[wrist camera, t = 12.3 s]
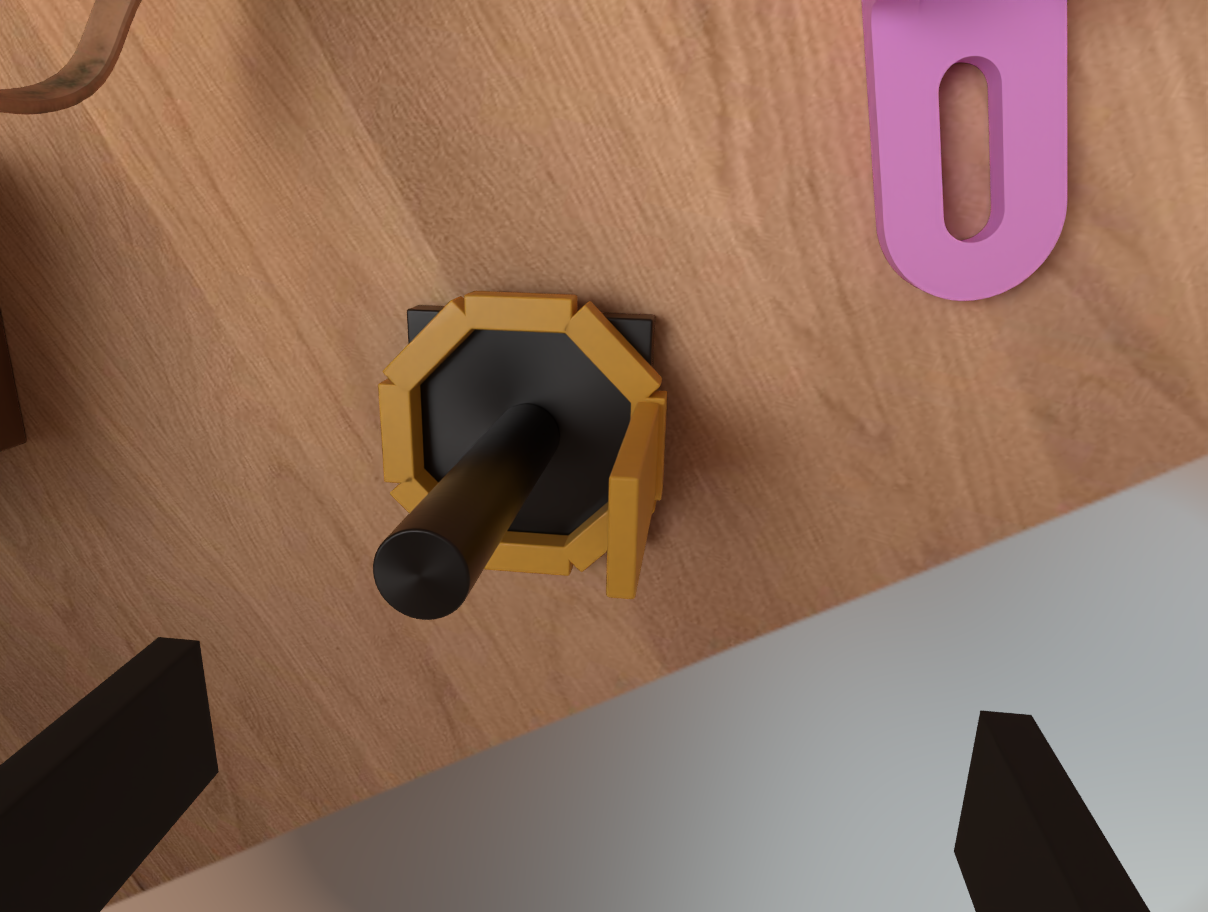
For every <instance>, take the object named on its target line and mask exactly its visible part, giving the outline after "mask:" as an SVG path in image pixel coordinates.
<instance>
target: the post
mask: <svg viewBox="0 0 1208 912" xmlns="http://www.w3.org/2000/svg"><path fill="white" fill-rule="evenodd" d="M444 307H445V306H426V305H418V306H415V307H413V308H410V309H408V310H407V322H408V341H409V343H410V342H411V341H412V340H413V339H414V338H415V337H416V336H417V335H418V334H419V333H420V332H421V331H422V330H423V329H424V328H425V326H426V325H427V324H428V323H429V322H430V321H431V320H432V319H433V318H434V317H435V316H436V315H437V314H438V313H439V312H440V311H441V310H442V309H443V308H444ZM602 314H603V315H604V316H605V317H606V318H607V319H608V320H609V321H610V323H611V324H612V325H613V326H614V327H615V328H616V329H617V330H618V331H619V332H620V333H621V334H622V335H623V337H624V338H625V339H626V340H627V341H628V342H629V343H630V344H631V345H632V346H633V347H634V348H635V349H636V350H637V352H638V353H639V354H640V355H641V356H642V357H643V358H644V359H645V360H646V361H647V362H648V363H649V364H650V366H651V367H652V368H653V355H654V330H655V316H654V315H650V314H625V313H602ZM420 392H421V413H422V434H423V455H424V469H425V470H426V471H427V472H428V473H429V474H430V475H431V476H432V477H433V478H434V479H435V480H436V481H437V482H438V484H437V485H436V486H435V487H434V488H433V489H432V490H431V491H430V492H429V493H428V494H427V496H426V497H425V498H424V499H423V500H422V501H421V502H420V503H419V504H418V505H417V506H416V507H415V508H414V509H413V510H412V511H411V512H410V514H409V515H408V516H407V517H406V518H405V519H404V520H403V521H402V522H401V523H400V524H399V525H398V526H397V527H396V528H395V529H394V531H393V532H392V533H391V534H390V535H389V536H388V537H387V538H386V539H385V540H384V541H383V542H382V543H381V545H380V546H379V548H378V550H377V552H376V554H375V557H374V563H373V574H374V579H375V583H376V586H377V588H378V590H379V592H380V593H381V595H382V596H383V598H384V599H385V600H386V601H387V602H388V603H389V604H390V605H391V606H392V607H393V608H394V609H396V610H397V611H399V612H401V613H402V614H404V615H407V616H409V617H412V618H416V619H422V620H431V619H438V618H442V617H445V616H447V615H449V614H451V613H453V612H454V611H455V610H457V609H458V608H459V607H460V606H461V605H462V603H463V602H464V601H465V599H466V597H467V596H468V594H469V592H470V591H471V589H472V587H473V586H474V584H475V583H476V581H477V579H478V578H479V576H480V574H481V573H482V571H483V569H484V568H485V566H486V565H487V563H488V561H489V560H490V558H491V556H492V555H493V553H494V551H495V550H496V548H497V547H498V545H499V543H500V542H501V540H502V538H503V537H504V535H505V533H506V532H507V531H511V532H525V533H539V534H553V535H567V536H569V535H570V534H571V533H572V532H573V531H574V530H576V529H577V528H578V527H579V526H580V525H581V524H583V523H584V522H585V521H586V520H587V519H588V518H590V517H591V516H592V515H593V514H594V513H596V512H597V511H598V510H599V509H600V508H601V507H603V506H604V505H605V504H606V503H607V502H608V495H609V477H610V474H611V472H612V469H613V466H614V464H615V461H616V458H617V455H618V453H619V450H620V447H621V445H622V442H623V439H624V437H625V434H626V431H627V428H628V426H629V423H630V419H631V403H630V401H629V400H628V399H627V398H626V397H625V396H624V395H623V394H622V393H621V392H620V391H619V390H618V389H617V388H616V387H615V386H614V384H613V383H612V382H611V381H610V380H609V379H608V378H607V377H606V376H605V375H604V374H603V373H602V372H601V371H600V370H599V369H598V368H597V366H596V365H595V364H594V363H593V362H592V361H591V360H590V359H589V358H588V357H587V356H586V355H585V354H584V353H583V352H582V351H581V349H580V348H579V347H578V346H577V345H576V344H575V343H574V342H573V341H572V340H571V339H570V338H569V337H568V336H567V335H566V334H565V333H547V332H523V331H500V330H477V329H475V330H474V331H473V332H472V333H471V334H470V335H469V336H468V337H467V338H466V339H465V340H464V341H463V342H462V343H461V344H460V345H459V346H458V347H457V348H456V349H455V350H454V351H453V352H452V353H451V354H450V355H449V356H448V357H447V358H446V359H445V360H444V361H443V362H442V363H441V364H440V365H439V366H438V367H437V368H436V369H435V370H434V371H433V372H432V373H431V374H430V376H429V377H428V378H427V379H426V380H425V381H424V382H423V383H422V384H421V385H420Z"/></svg>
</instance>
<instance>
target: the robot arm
mask: <svg viewBox="0 0 1208 912" xmlns="http://www.w3.org/2000/svg"><path fill="white" fill-rule="evenodd" d="M218 772H219V771H218V764H217V758H216V751H215V744H214V737H213V730H212V724H211V717H210V710H209V703H208V696H207V689H206V683H205V676H204V669H203V662H202V655H201V648H200V642H199V641H196V640H185V639H174V638H162V637H158V638H157V639H156V640H155V641H153V642H152V643H151V644H150V645H148V646H147V647H146V648H145V649H143V650H142V651H141V652H140V653H138V654H137V655H136V656H135V657H133V658H132V659H131V660H130V661H129V662H127V663H126V664H125V665H124V666H122V667H121V668H120V669H119V670H117V671H116V672H115V673H114V674H112V675H111V676H110V677H109V678H108V679H106V680H105V681H104V682H103V683H101V684H100V685H99V686H98V687H96V688H95V689H94V690H93V691H91V692H90V693H89V694H88V695H87V696H85V697H84V698H83V699H82V700H80V701H79V702H78V703H77V704H75V705H74V706H73V707H72V708H70V709H69V710H68V711H67V712H65V713H64V714H63V715H62V716H61V717H59V718H58V719H57V720H56V721H54V722H53V723H52V724H51V725H49V726H48V727H47V728H46V729H44V730H43V731H42V732H41V733H40V734H38V735H37V736H36V737H35V738H33V739H32V740H31V741H30V742H28V743H27V744H26V745H25V746H23V747H22V748H21V749H20V750H18V751H17V752H16V753H15V754H14V755H12V756H11V757H10V758H9V759H7V760H6V761H5V762H4V763H2V764H1V765H0V912H100V911H101V910H102V909H103V908H104V906H105V905H106V904H107V903H108V902H109V900H110V899H111V898H112V897H113V896H114V895H115V893H116V892H117V891H118V890H119V889H120V888H121V886H122V885H123V884H124V883H125V882H126V880H127V879H128V878H129V877H130V876H131V875H132V873H133V872H134V871H135V870H136V869H137V867H138V866H139V865H140V864H141V863H142V862H143V860H144V859H145V858H146V857H147V856H148V855H149V853H150V852H151V851H152V850H153V849H154V847H155V846H156V845H157V844H158V843H159V842H160V840H161V839H162V838H163V837H164V836H165V834H166V833H167V832H168V831H169V830H170V829H171V827H172V826H173V825H174V824H175V823H176V822H177V820H178V819H179V818H180V817H181V816H182V814H183V813H184V812H185V811H186V810H187V809H188V807H189V806H190V805H191V804H192V803H193V801H194V800H195V799H196V798H197V797H198V796H199V794H200V793H201V792H202V791H203V790H204V788H205V787H206V786H207V785H208V784H209V783H210V781H211V780H212V779H213V778H214V777H215V776H216V774H217V773H218ZM954 853H955V856H956V858H957V861H958V864H959V867H960V869H961V872H962V875H963V878H964V880H965V883H966V886H967V889H968V891H969V894H970V897H971V900H972V902H973V905H974V908H975V911H976V912H1150V911H1149V909H1148V907H1147V906H1146V904H1145V902H1144V901H1143V899H1142V897H1141V896H1140V894H1139V892H1138V891H1137V889H1136V888H1135V886H1134V884H1133V882H1132V881H1131V879H1130V878H1129V876H1128V874H1127V873H1126V871H1125V869H1124V868H1123V866H1122V864H1121V863H1120V861H1119V860H1118V858H1117V856H1116V855H1115V853H1114V851H1113V849H1112V848H1111V846H1110V844H1109V843H1108V841H1107V839H1106V838H1105V836H1104V835H1103V833H1102V831H1101V830H1100V828H1099V826H1098V825H1097V823H1096V821H1095V820H1094V818H1093V816H1092V815H1091V813H1090V811H1089V810H1088V808H1087V806H1086V805H1085V803H1084V801H1083V800H1082V798H1081V796H1080V795H1079V793H1078V791H1077V790H1076V788H1075V786H1074V785H1073V783H1072V781H1071V780H1070V778H1069V777H1068V775H1067V773H1066V772H1065V770H1064V768H1063V767H1062V765H1061V763H1060V762H1059V760H1058V758H1057V757H1056V755H1055V753H1054V752H1053V750H1052V748H1051V747H1050V745H1049V743H1048V742H1047V740H1046V738H1045V737H1044V735H1043V733H1042V732H1041V730H1040V729H1039V727H1038V725H1037V724H1036V722H1035V720H1034V719H1033V717H1032V715H1025V714H1014V713H1003V712H991V711H980V716H979V722H978V726H977V731H976V737H975V742H974V747H973V753H972V758H971V764H970V768H969V774H968V780H967V784H966V790H965V795H964V800H963V806H962V811H961V816H960V822H959V827H958V832H957V838H956V843H955V848H954Z"/></svg>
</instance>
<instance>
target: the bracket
mask: <svg viewBox="0 0 1208 912" xmlns="http://www.w3.org/2000/svg"><path fill="white" fill-rule="evenodd" d="M862 14H863V29H864V45H865V60H866V75H867V91H868V106H869V122H870V137H871V153H872V168H873V183H874V199H875V214H876V228H877V235H878V239H879V243H880V246H881V249H882V251H883V253H884V255H885V257H886V259H887V261H888V262H889V264H890V265H891V267H892V268H893V269H894V270H895V271H896V273H898V274H899V275H900V276H901V277H902V278H903V279H904V280H906V281H907V282H908V283H910V284H912V285H913V286H915V287H917V288H919V289H921V290H923V291H925V292H927V293H929V294H932V295H934V296H937V297H941V298H944V299H950V300H958V301H970V300H979V299H984V298H988V297H992V296H995V295H998V294H1001V293H1003V292H1005V291H1007V290H1009V289H1011V288H1013V287H1015V286H1016V285H1018V284H1020V283H1021V282H1022V281H1024V280H1025V279H1027V278H1028V277H1029V276H1030V275H1031V274H1032V273H1034V272H1035V271H1036V270H1037V269H1038V268H1039V266H1040V265H1041V264H1042V263H1043V262H1044V261H1045V259H1046V258H1047V257H1048V256H1049V254H1050V252H1051V251H1052V249H1053V248H1054V246H1055V244H1056V242H1057V240H1058V238H1059V236H1060V233H1061V231H1062V228H1063V224H1064V221H1065V216H1066V210H1067V0H862ZM960 62H964V63H969V64H972V65H974V66H976V67H978V68H979V69H980V70H981V71H982V72H983V74H984V75H985V78H986V80H987V84H988V109H989V147H990V185H991V214H990V218H989V220H988V222H987V224H986V226H985V227H984V228H983V229H982V231H980V232H979V233H978V234H977V235H975V236H974V237H971V238H969V239H966V240H957V239H955V238H954V237H952V236H951V235H950V233H949V232H948V231H947V229H946V227H945V224H944V215H943V191H942V168H941V144H940V120H939V97H938V91H939V85H940V81H941V79H942V77H943V75H944V73H945V72H946V70H947V69H948V68H949V67H950V66H951V65H952V64H954V63H960Z"/></svg>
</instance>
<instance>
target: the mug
mask: <svg viewBox="0 0 1208 912" xmlns="http://www.w3.org/2000/svg"><path fill="white" fill-rule="evenodd" d="M141 1H142V0H96V1H95V3H94V6H93V8H92V11H91V13H90V16H89V19H88V22H87V25H86V27H85V30H84V33H83V35H82V38H81V40H80V43H79V45H78V47H77V49H76V51H75V53H74V55H73V56H72V58H71V59H70V61H69V62H68V64H67V65H66V66H64V67H63V68H62V69H61V70H60V71H59V72H58V73H57V74H55V75H53V76H52V77H50V78H48V79H46V80H45V81H43V82H40V83H37V84H34V85H30V86H26V87H21V88H13V89H2V90H0V112H3V113H13V114H41V113H48V112H54V111H58V110H62V109H66V108H69V107H71V106H74V105H76V104H78V103H80V102H82V101H83V100H85V99H86V98H88V97H90V96H91V95H93V94H94V93H95V92H96V91H97V90H98V89H99V88H100V87H101V86H102V85H103V84H104V82H105V81H106V79H107V78H108V76H109V75H110V73H111V72H112V70H113V68H114V66H115V64H116V62H117V60H118V58H119V55H120V53H121V50H122V48H123V45H124V42H125V39H126V37H127V34H128V31H129V28H130V25H131V23H132V21H133V18H134V16H135V13H136V11H137V8H138V6H139V5H140V3H141Z"/></svg>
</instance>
